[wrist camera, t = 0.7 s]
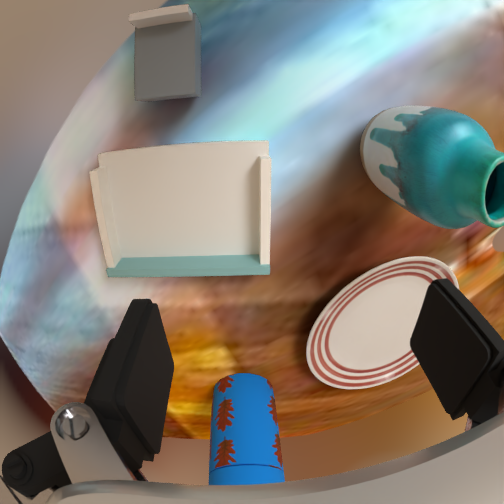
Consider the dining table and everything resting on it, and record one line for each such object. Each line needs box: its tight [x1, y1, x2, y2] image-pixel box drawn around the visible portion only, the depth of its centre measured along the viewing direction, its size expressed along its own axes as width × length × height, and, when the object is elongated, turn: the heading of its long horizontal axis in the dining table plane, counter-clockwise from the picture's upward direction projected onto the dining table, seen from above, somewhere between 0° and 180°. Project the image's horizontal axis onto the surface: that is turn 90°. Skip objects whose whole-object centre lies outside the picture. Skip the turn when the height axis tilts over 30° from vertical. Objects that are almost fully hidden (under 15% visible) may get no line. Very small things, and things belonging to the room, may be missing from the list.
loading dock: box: [90, 140, 271, 277], centre depth 31 cm, size 14×19×4 cm
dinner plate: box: [306, 256, 459, 389], centre depth 42 cm, size 27×27×3 cm
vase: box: [360, 106, 504, 229], centre depth 22 cm, size 11×11×19 cm
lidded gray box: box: [129, 4, 202, 102], centre depth 22 cm, size 8×6×9 cm
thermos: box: [209, 373, 285, 485], centre depth 37 cm, size 11×11×25 cm
